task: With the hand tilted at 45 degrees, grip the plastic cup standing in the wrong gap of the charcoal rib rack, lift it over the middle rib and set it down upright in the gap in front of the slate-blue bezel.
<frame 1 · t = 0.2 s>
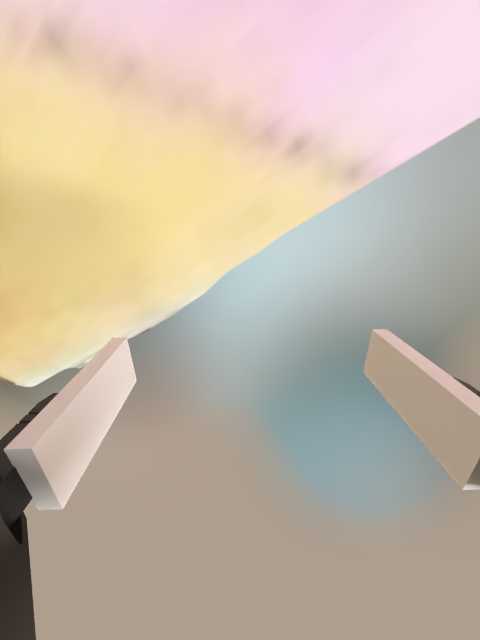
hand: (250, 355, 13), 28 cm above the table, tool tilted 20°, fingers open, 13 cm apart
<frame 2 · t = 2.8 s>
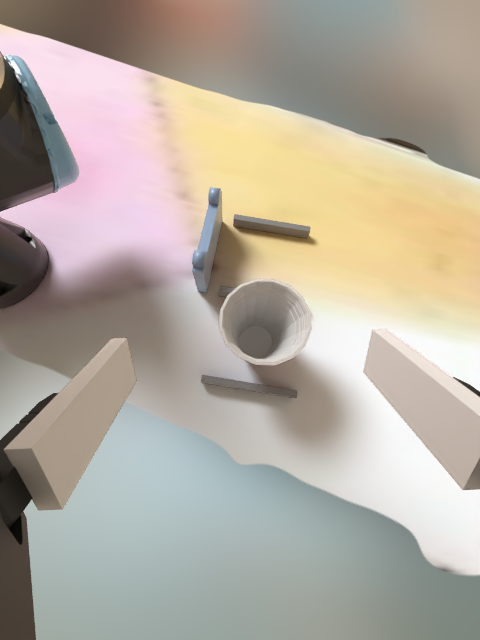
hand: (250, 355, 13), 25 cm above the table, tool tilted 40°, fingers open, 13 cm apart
plastic cup: (254, 341, 40), on the table
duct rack: (260, 300, 42), on the table
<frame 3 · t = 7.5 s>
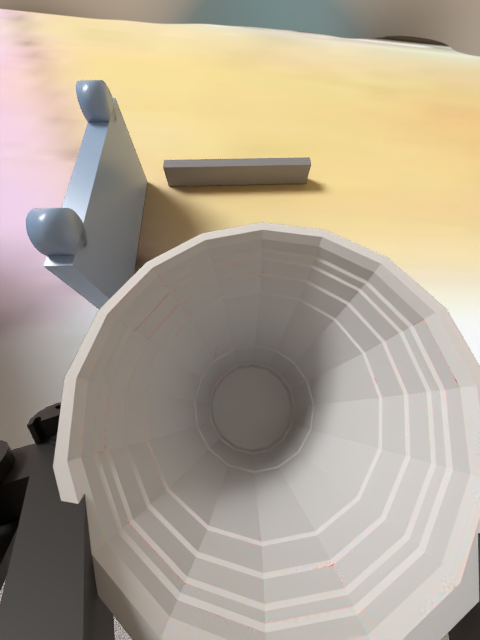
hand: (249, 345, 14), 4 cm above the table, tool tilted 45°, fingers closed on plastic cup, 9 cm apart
plastic cup: (248, 404, 17), on the table, touching gripper
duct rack: (243, 309, 20), on the table
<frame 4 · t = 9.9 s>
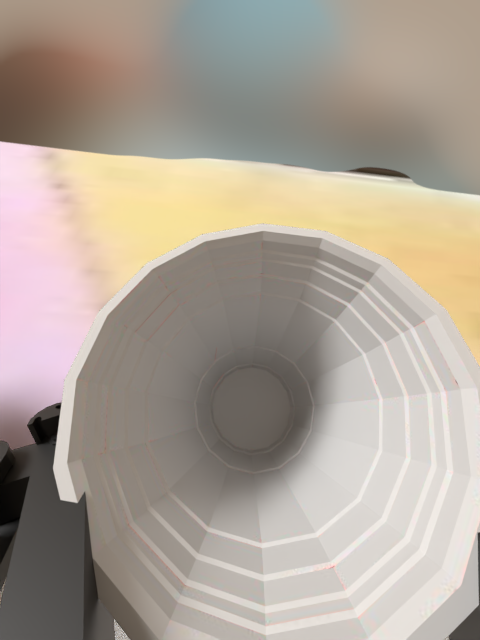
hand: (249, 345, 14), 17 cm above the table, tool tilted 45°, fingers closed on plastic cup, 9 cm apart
plastic cup: (248, 405, 17), point 12 cm above the table, touching gripper
when the fingers open (6 cm above the table, at t = 12.8 s): plastic cup moves 3 cm, on the table.
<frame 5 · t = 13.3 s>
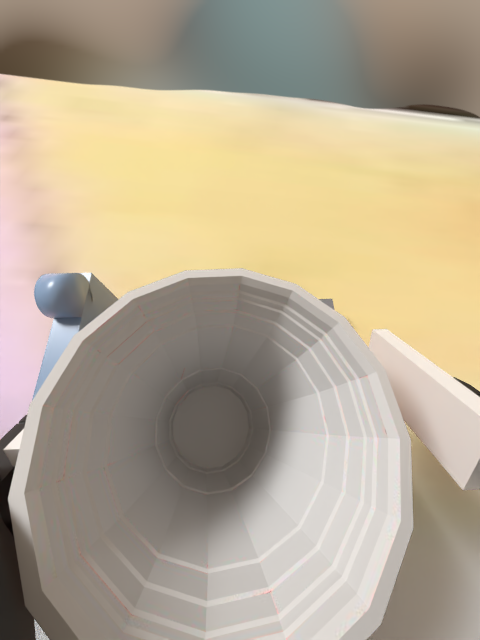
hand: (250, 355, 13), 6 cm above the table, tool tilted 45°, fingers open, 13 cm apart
plastic cup: (208, 423, 18), on the table, touching gripper
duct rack: (254, 525, 16), on the table
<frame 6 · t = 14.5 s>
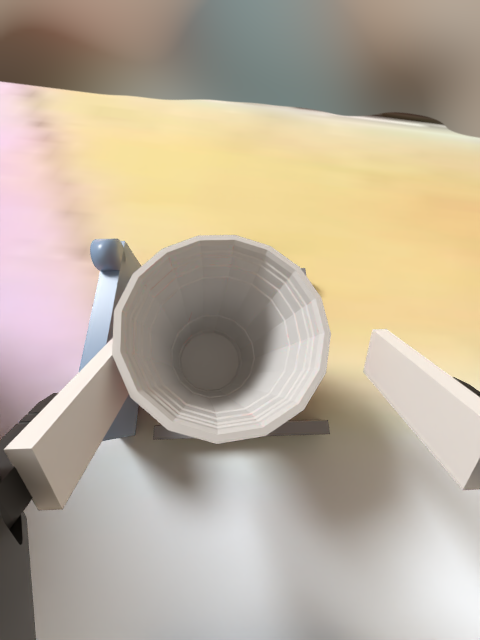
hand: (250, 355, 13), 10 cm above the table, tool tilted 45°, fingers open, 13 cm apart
plastic cup: (207, 360, 23), on the table, touching gripper
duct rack: (241, 428, 21), on the table
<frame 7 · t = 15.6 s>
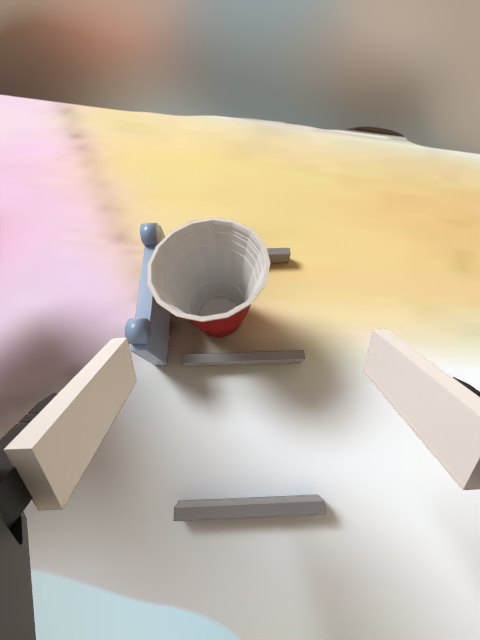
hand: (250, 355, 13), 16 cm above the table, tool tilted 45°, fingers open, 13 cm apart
plastic cup: (218, 316, 32), on the table
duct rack: (243, 360, 30), on the table
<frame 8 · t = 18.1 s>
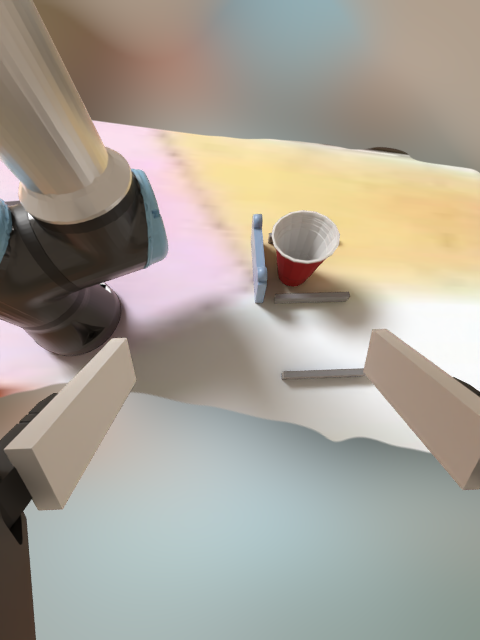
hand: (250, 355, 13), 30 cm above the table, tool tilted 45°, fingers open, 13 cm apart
plastic cup: (290, 274, 50), on the table
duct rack: (309, 300, 48), on the table
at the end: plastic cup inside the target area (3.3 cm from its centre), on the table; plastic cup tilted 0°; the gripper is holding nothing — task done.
